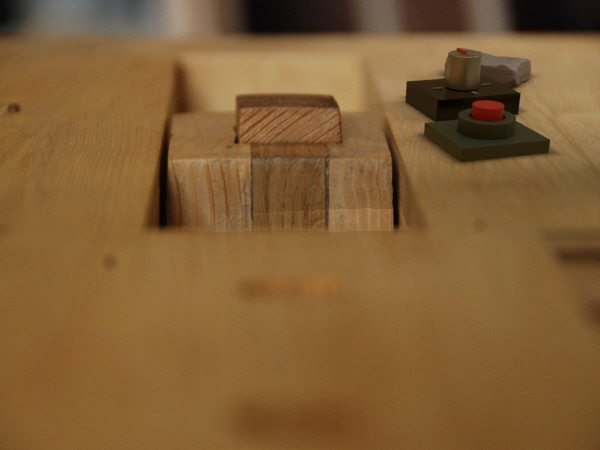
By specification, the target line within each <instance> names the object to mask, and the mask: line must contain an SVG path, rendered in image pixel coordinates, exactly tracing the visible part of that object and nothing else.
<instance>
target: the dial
mask: <svg viewBox="0 0 600 450" xmlns="http://www.w3.org/2000/svg"><path fill="white" fill-rule="evenodd" d="M462 48H463V47H456V49H454V50H450V51H448V53H447V56H448V63H447V76H446V77H445V78H446V87H447V88H450V89H453V90H460V91H470V90H476V89H478V88H479V80H480V69H481V59H482V54H481V53H480V52H477V51H478V50H475V51H471V50H472V49H471V50H464V49H462Z"/></svg>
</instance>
